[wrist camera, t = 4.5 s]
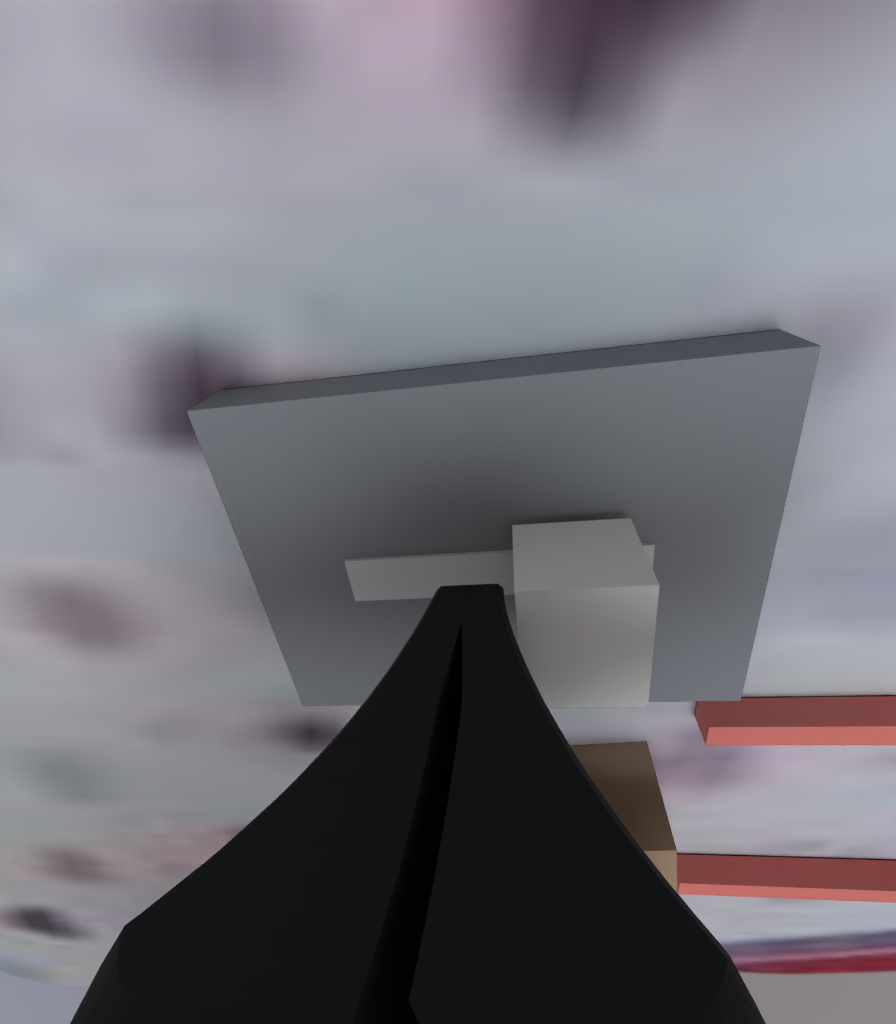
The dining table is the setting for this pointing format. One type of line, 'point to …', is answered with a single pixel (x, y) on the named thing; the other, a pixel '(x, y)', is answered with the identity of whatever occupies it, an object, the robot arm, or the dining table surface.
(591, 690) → the switch
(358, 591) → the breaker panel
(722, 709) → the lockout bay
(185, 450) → the dining table surface
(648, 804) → the block
